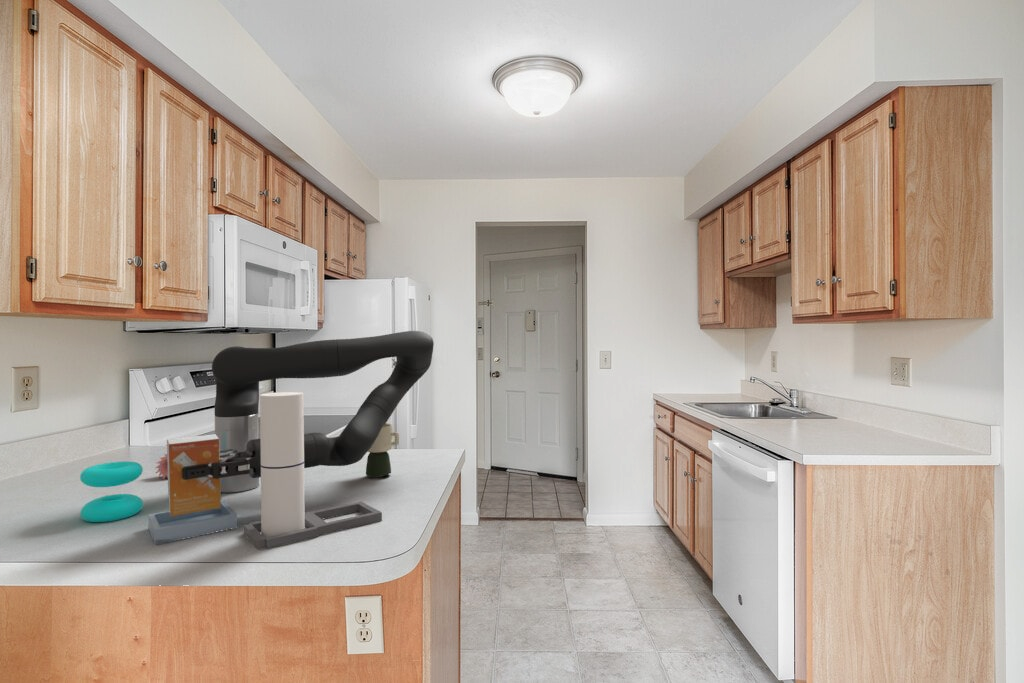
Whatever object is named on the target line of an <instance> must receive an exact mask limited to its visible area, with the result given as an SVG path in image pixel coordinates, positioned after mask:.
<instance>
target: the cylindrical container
mask: <svg viewBox="0 0 1024 683" xmlns="http://www.w3.org/2000/svg"><path fill="white" fill-rule="evenodd" d="M304 397H305V396H304V392H301V391H284V392H282V391H281V392H267V393H261V394H259V413H260V414H259V417H260V418H259V421H260V422H259V423H260V425H259V429H260V430H259V439H260V442H261V477H260V517H261V518H260V521H261V531H260V533H261V534H262V535H263V536H264V537H265V538H266V537H270V536H275V535H279V534H284V533H288V532H293V531H297V530H302V529H306V527H305V513H306V512H305V510H306V509H305V508H306V507H305V468H304V434H305V427H304V426H305V421H304V420H305V418H304V416H305V411H304V410H305V407H304V406H305V405H304V402H305V401H304Z"/></svg>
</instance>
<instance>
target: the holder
mask: <svg viewBox="0 0 1024 683" xmlns="http://www.w3.org/2000/svg"><path fill="white" fill-rule="evenodd" d="M355 511H358V512H359V513H360V512H361V513H360V515H355V516H351V517H346V518H341V519H336V520H332V521H328V522H326V521H325V519H328V517H330V518H333V517H332V516H335V517H337V516H336V515H339V516H342V515H341V514H344V515H347V514H346V513H348V514H351V513H350V512H353V513H356V512H355ZM362 513H363V514H362ZM323 518H325V519H323ZM381 521H383V512H381V511H380V510H378V509H376V508H374V507H373V506H371V505H369V504H367V503H365V502H363V501H357V502H352V503H351V502H350V503H348V504H347V503H346V504H343V505H338V506H333V507H327V508H322V509H318V510H312V511H308V512H307V511H306V512H305V529H302V530H297V531H293V532H288V533H284V534H279V535H275V536H270V537H266V538H265V537H264V536H263V535H262V534H261V520H258V521H254V522H249V524H244V525H243V535H244V536H247V537H248V538H247V537H246V538H247V539H248V540H249V541H250V542H251V543H252V545H253V546H254V547H255V548H256V549H257V550H263V549H266V550H267V549H271V548H277V547H279V546H280V547H281V546H284V545H285V546H286V545H289V544H293V542H294V543H297V541H298V542H301V540H302V541H305V540H310V538H311V539H314V537H315V538H318V536H322V535H326V533H327V534H329V533H333V531H334V532H339V531H342V529H343V530H347V529H350V527H352V528H355V526H356V527H359V525H360V526H363V525H368V523H369V524H372V522H373V523H377V522H381ZM338 530H339V531H338ZM321 534H322V535H321Z"/></svg>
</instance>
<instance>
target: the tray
mask: <svg viewBox="0 0 1024 683" xmlns="http://www.w3.org/2000/svg"><path fill="white" fill-rule="evenodd" d="M147 516H148V530H150V531H149V533H150V535H151V537H153V538H152V540H153V542H155V543H154V545H155V546H157V544H158V545H162V544H161V543H163V544H166V543H165V542H168V543H171V542H170V541H173V542H175V541H174V540H178V541H180V540H179V539H182V540H184V539H183V538H187V539H189V538H188V537H192V538H194V537H193V536H197V537H199V536H198V535H202V536H204V535H203V534H207V533H212V532H216V531H221V530H226V529H231V528H236V527H237V528H238V514H237V512H236V511H234V509H232V508H231V506H229V504H228V503H227V502H226V501H225V500H223V501H222V500H221V508H220V509H212V510H206V511H200V512H194V513H188V514H182V515H176V516H172V517H171V516H170V510H166V511H160V512H154V513H149V514H147ZM237 528H236V529H237ZM231 530H232V529H231ZM226 531H227V530H226ZM221 532H222V531H221ZM216 533H217V532H216ZM212 534H213V533H212ZM207 535H208V534H207Z"/></svg>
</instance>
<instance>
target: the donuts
mask: <svg viewBox="0 0 1024 683" xmlns="http://www.w3.org/2000/svg"><path fill="white" fill-rule="evenodd" d="M143 472H144V471H143V466H142V465H141V464H140V463H139V462H137V461H114V462H105V463H100V464H95V465H92V466H88V467H86V468H85V469H83V470H82V472H81V473H80V476H79V478H80V481H81V482H82V484H84V485H85V486H87V487H88V486H89V487H93V488H110V487H117V486H122V485H126V484H129V483H131V482H135V480H137V479H138V478H139V477H141V475H142V474H143ZM143 507H144V501H143V500H142V498H141V497H140V496H138V495H134V494H130V493H118V494H110V495H105V496H101V497H98V498H95V499H92V500H91V501H89V502H87V503H86V504H85V505H84V506H83V507H82V508H81V509H80V517H81V518H82V519H83V520H84V521H86V522H89V523H107V521H108V522H114V521H118V520H122V519H123V520H124V519H127V518H130V517H133V516H135V515H136V514H138V513H139V512H140V511H141V510H143Z"/></svg>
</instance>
